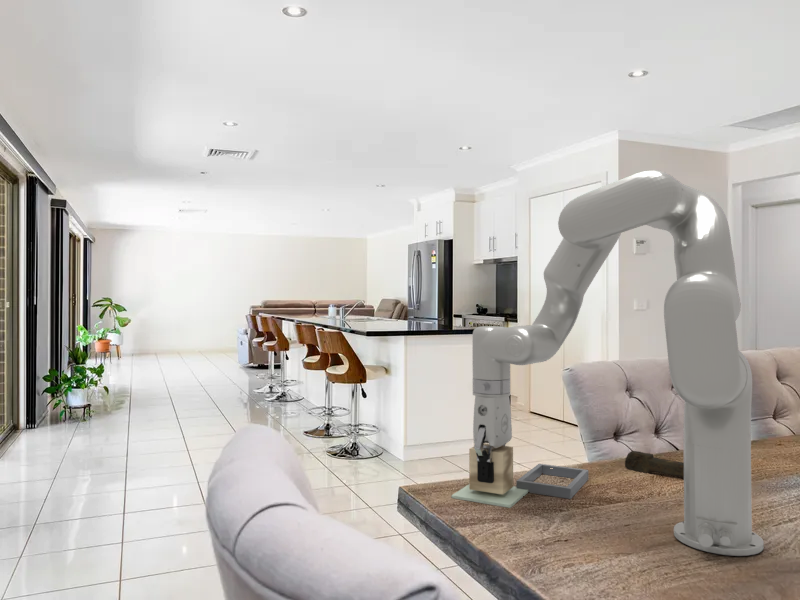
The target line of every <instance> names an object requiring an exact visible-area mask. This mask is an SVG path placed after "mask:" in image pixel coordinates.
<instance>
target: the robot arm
mask: <svg viewBox="0 0 800 600" xmlns="http://www.w3.org/2000/svg"><path fill="white" fill-rule="evenodd" d="M557 225H558V231H559V233H560V235H561V237H562V239H561V240H560V241H561V242H560V243H559V245H558V246H557V248H556V250H555V252H554V254H553V255H552V256H551V258H550V260H549V261H548V263H547V265H546V267H545V268H544V271H543V279H544V280H543V281H544V283H545V287H546V295H545V300H544V303H543V305H542V307H541V308H540V311H539V313H537V314H538V315H537V316H536V318H535V319H534V321H533V322H532V324H529V325H528V324H527V325H516V326H509V327H505V326H501V325H500V326H497V325H493V326H492V325H490V326H488V325H484V326H483V325H482V326H481V325H480V326H476V327H475V328H474V329H473V331H472V396H475V397H474V406H473V423H472V425H473V427H472V433H473V434H472V435H473V437H472V438H473V443H474V445H473V447H474V449H475V451H476V455H477V480H478V481H479V482H486V483H493V482H494V462H492V456H493V448H499V447H501V446H506V444H507V443H509V442H510V441H511V440H512V438H513V430H512V429H513V427H512V412H511V411H512V410H511V408H512V407H511V400H510V396H511V365H515V366H528V365H533V364H540V363H544V362H547V361H550V360H551V358H553V357H554V356H555V355H556V353H558V351H559V350H560V348H561V347H562V345H563V344H564V342H565V341H566V340H567V338H568V336H569V334H570V333H571V331H572V329H573V328H574V326H575V323H576V322H577V319H578V316H579V314H580V311H581V307H582V306H583V303H584V302H583V301H584V297H585V294H586V292H587V290H588V288H589V287H590V285H591V284H592V282H593V281H594V279H595V278H596V275H597V274H598V272H599V270H600V269H601V267H602V266H603V265H604V262H605V261H606V260H607V258H608V256H609V255H610V254H611V252H612V250H613V249H614V247H615V245H616V244H617V242H618V240H619V239H620V236H621V234H622V233H625V232H628V231H630V230H634V229H637V228H640V227H643V226H648V227H651V228H654V229H658V230H663V231H667V232H669V234H671V236H672V239H673V257H674V263H675V272H676V280H675V281H674V282H673V283H672V284H671V285H670V287H669V289H668V290H667V293H666V295H665V298H664V302H663V319H664V331H665V338H666V349H667V362H668V369H669V371H668V372H669V375H670V376H669V377H670V380H671V384H672V386H673V389H674V391H675V392H676V394H677V395H678V396H679V397H680V398H681V399H682V400H683V401H684V405H683V406H684V407H683V463H684V478H683V516H684V517H683V520H684V521H680V522H677V523H676V524H674V526H673V535H674V537H675V539H677V540H678V541H679V542H681V543H682V544H685V545H687V546H689V547H691V548H693V549H696V550H699V551H703V552H707V553H710V554H716V555H723V556H735V557H745V556H747V557H748V556H753V555H757V554H759V553H761V552H762V551H763V550H764V545H765V542H764V539H763V538H762V537H761V536H760V535H758V534H757V533H756V532H754V531H753V529H752V527H753V526H752V525H753V522H752V518H753V517H752V516H753V515H752V513H753V512H752V506H753V505H752V400H753V372H752V369H751V365H750V363H749V361H748V359H747V357H746V356H745V354H744V353H743V352H741V351H740V350H739V342H738V334H737V332H738V331H737V324H736V322H737V320H738V318H739V317H740V312H741V304H742V303H741V298H740V294H739V289H738V288H739V287H738V281H737V273H736V266H735V264H736V263H735V258H734V252H733V246H732V238H731V231H730V226H729V225H730V224H729V222H728V218H727V216H726V213H725V212H724V210H723V209H722V207H721V206H720V205H719V203H718V202H717V201H716V200H715V199H714V198H713V197H711V195H709V194H707V193H706V192H704V191H702V190H699V189H697V188H694V187H691V186H688V185H686V184H683V183H682V182H680V181H679V180H677V178H675V177H674V176H673V175H671V174H669V173H667V172H666V171H662V170H659V169H649V170H642V171H639V172H636V173H633V174H631V175H628V176H626V177H624V178H621V179H619V180H615V181H613V182H611V183H608V184H606V185H604V186H601V187H598V188H595V189H592V190H591V191H588V192H586V193H584V194H581V195H579V196H577V197H575V198H574V199H572V200H570V201H569V202H568V203H566V205H565V206H564V207H563V209H562V210H561V211H560V213H559V216H558V221H557ZM484 444H490V446H488V445H484ZM484 449H489V450H488V454H487V452H486V450H484Z"/></svg>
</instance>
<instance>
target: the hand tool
mask: <svg viewBox="0 0 800 600" xmlns="http://www.w3.org/2000/svg"><path fill="white" fill-rule="evenodd" d="M624 460H625V461H624V467H625V469H628V470H630V471H634V472H639V473H642V472H643V473H644V474H647V473H649V474H653V473H654V474H655V473H657V474H662V475H667V476H673V477H678V478H683V479H684V461H677V460H670V459H664V458H661V457H660V458H659V457H654V454H653V453H650V452H649V453H647V452H641V451H636V450H631V451H629V452H628V453H627V456H626V457H625V459H624Z"/></svg>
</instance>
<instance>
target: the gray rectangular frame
mask: <svg viewBox="0 0 800 600" xmlns="http://www.w3.org/2000/svg"><path fill="white" fill-rule="evenodd" d="M550 468H553V469H550ZM542 473H543V474H542ZM541 474H542V475H545V474H546V476H554V477H561V478H569V479H573V480H571V481H570V482H569V484H567V486H564V485H563V486H562V485H558V484H550V483H544V482H536V478H537V477H538V478H539V477H540V476H542V475H541ZM538 478H537V479H538ZM588 480H589V470H588V469H584V468H576V467H575V468H574V467H569V466H568V467H566V466H561V465H552V464H546V463H537V464H536V465H535V466H534V467H532V468H531V469H530V470H529V471H527V472H526V473H525V474H523V475H522V476H520V477H519V478H518V479H517V480H515V483H516V485H515V487H516V488H519V489H525V490H528V492H530V493H529V494H536V495H541V496H548V497H555V498H562V499H569V500H571V499H572V498H573V497H575V495H576V494H577V493H578V492H579V490H580V489H581V488H582V487H583V486H584V485H585V484H586V483H587V481H588Z"/></svg>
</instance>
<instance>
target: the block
mask: <svg viewBox="0 0 800 600" xmlns="http://www.w3.org/2000/svg"><path fill="white" fill-rule="evenodd" d="M484 445H488V446H490V444H489V443H484ZM484 450H486V452H487V454H488V450H489V449H484ZM468 452H469V460H468V462H469V463H468V465H469V467H468V468H469V469H468V470H469V484H468V485H469V489H471V490H477V491H483V492H490V493H496V494H502V495H503V494H504V493H506V492H507V491H508V490H510V489H511V488H512V487H513V486H514V446H509V445H505V446H501V447H499V448H493V456H492V462H494V482H493V483H486V482H479V481H478V480H477V455H476V451H475V449H474V446H473V447H470V448H469V451H468Z"/></svg>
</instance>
